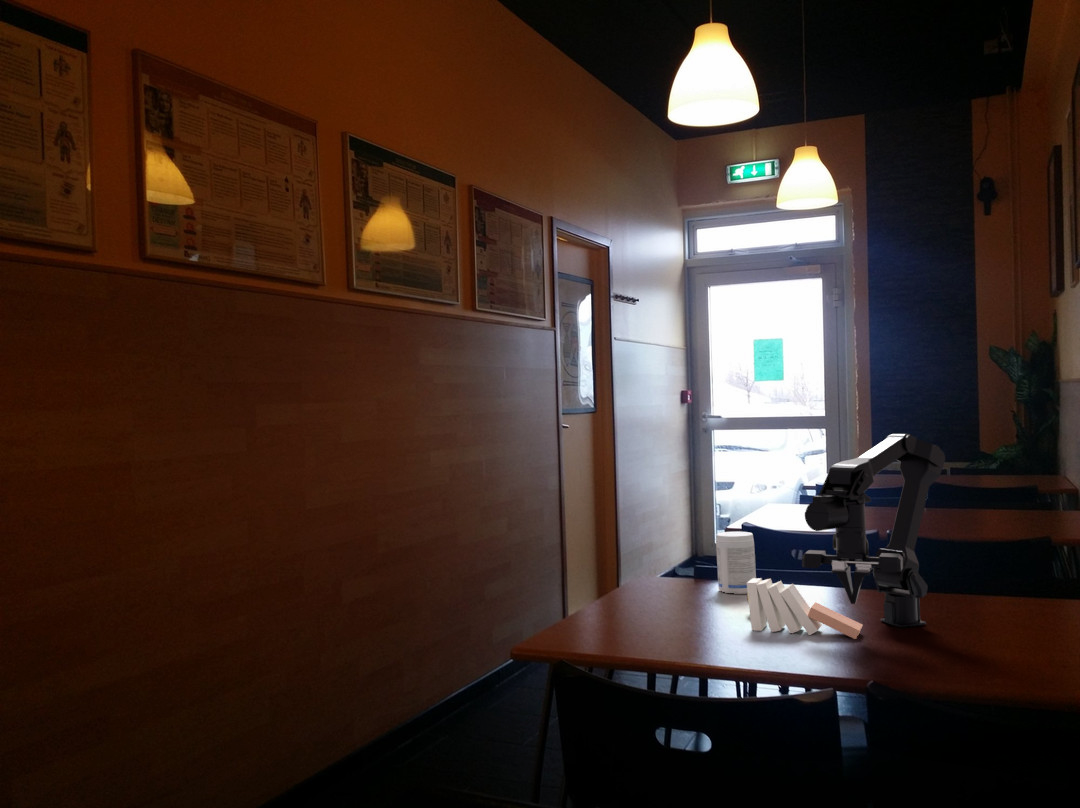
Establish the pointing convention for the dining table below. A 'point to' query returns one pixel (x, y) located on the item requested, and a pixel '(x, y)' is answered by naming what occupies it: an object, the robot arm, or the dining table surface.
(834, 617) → the tile
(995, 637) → the dining table surface
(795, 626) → the tile
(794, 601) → the tile
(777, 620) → the tile
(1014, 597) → the dining table surface
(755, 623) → the tile end
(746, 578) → the supplement tub
